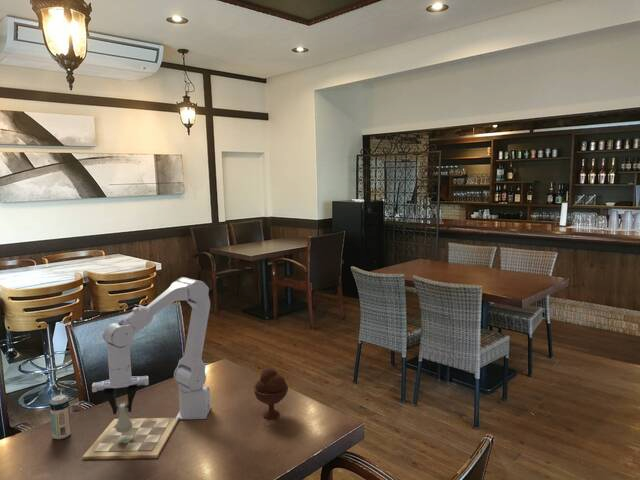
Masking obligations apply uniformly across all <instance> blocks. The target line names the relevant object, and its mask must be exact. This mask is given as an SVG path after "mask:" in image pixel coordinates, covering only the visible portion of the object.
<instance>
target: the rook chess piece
mask: <svg viewBox="0 0 640 480" xmlns="http://www.w3.org/2000/svg"><path fill="white" fill-rule="evenodd" d="M127 402H128V401H122V402H118V404H117V408H116V409H117V414H118V418H117V419H118V421H117V423H116V431H118V432H120V433H124V432H127V431H129V430H130V429H131V428H132V421H131V420H130V419H131V418H130V417H129V412H128V403H127Z"/></svg>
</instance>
